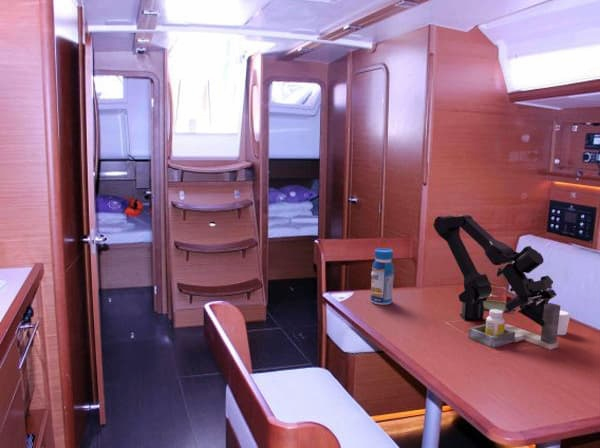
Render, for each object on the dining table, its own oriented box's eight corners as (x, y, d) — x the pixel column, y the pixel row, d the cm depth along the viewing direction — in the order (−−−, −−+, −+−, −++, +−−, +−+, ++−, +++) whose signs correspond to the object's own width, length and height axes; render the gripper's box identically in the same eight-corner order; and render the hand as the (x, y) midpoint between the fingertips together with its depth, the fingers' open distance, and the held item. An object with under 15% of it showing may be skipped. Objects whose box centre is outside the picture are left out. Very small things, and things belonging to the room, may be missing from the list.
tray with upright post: (468, 337, 171) (471, 297, 169) (504, 327, 181) (507, 289, 179) (521, 359, 156) (526, 315, 154) (557, 346, 166) (562, 305, 163)
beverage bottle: (394, 305, 201) (397, 252, 198) (371, 305, 201) (373, 252, 198) (390, 298, 210) (393, 247, 206) (368, 298, 210) (371, 247, 206)
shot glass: (570, 337, 175) (573, 316, 173) (547, 335, 176) (550, 314, 175) (564, 329, 181) (567, 309, 180) (542, 327, 183) (545, 307, 181)
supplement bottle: (502, 339, 171) (505, 309, 169) (503, 345, 166) (506, 314, 164) (484, 336, 173) (487, 307, 171) (484, 343, 168) (487, 312, 166)
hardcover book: (506, 297, 217) (507, 287, 216) (505, 313, 198) (506, 302, 197) (474, 293, 221) (475, 283, 221) (471, 308, 202) (472, 297, 201)
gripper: (517, 271, 162) (548, 317, 155) (554, 264, 173) (584, 307, 165) (493, 290, 170) (521, 335, 163) (529, 282, 180) (557, 324, 173)
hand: (547, 324), depth 166 cm, fingers closed on tray with upright post, 3 cm apart
